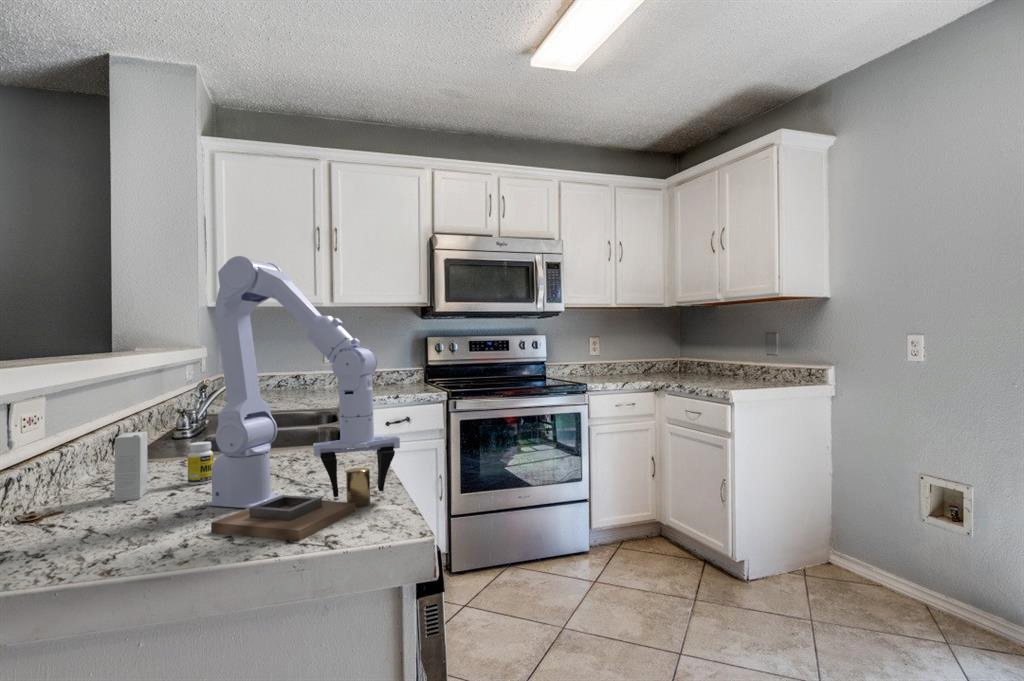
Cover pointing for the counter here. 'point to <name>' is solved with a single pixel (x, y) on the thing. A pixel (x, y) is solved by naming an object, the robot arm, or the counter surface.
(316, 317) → the robot arm
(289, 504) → the frame
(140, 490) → the skincare box
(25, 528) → the counter surface
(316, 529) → the jig plate
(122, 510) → the counter surface
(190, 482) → the supplement bottle
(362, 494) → the brass cylinder
